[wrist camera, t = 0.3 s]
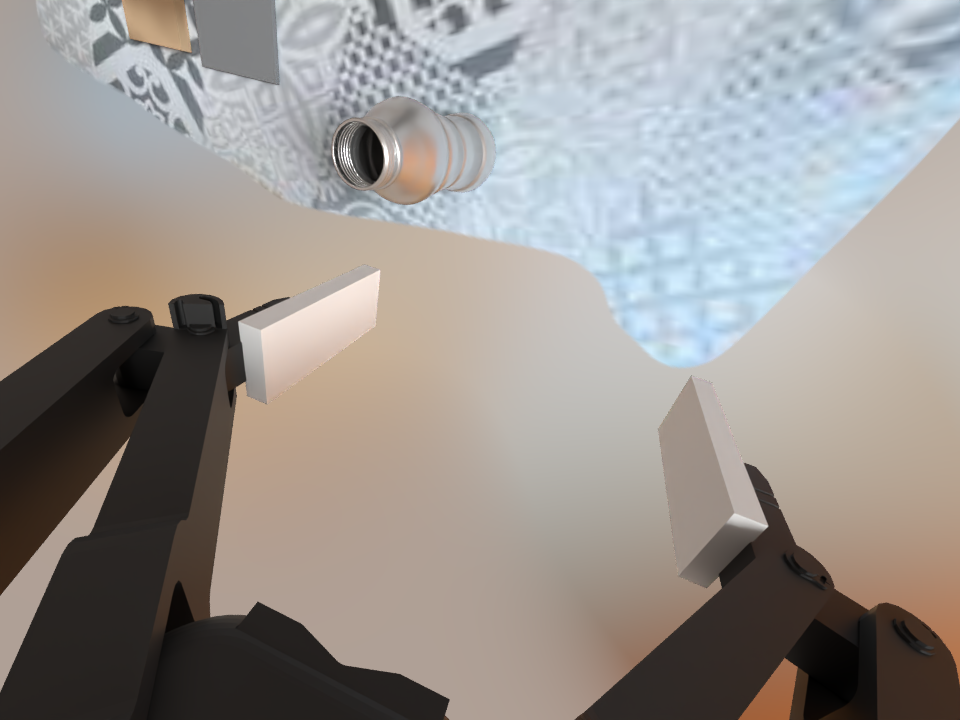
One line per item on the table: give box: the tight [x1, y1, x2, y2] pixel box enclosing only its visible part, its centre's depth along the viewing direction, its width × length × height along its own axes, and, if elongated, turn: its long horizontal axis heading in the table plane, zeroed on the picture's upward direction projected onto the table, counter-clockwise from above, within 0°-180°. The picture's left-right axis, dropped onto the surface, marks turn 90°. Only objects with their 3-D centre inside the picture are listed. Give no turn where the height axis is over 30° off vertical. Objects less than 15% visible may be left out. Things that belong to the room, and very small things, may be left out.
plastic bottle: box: [331, 96, 496, 205], centre depth 31 cm, size 6×7×20 cm
